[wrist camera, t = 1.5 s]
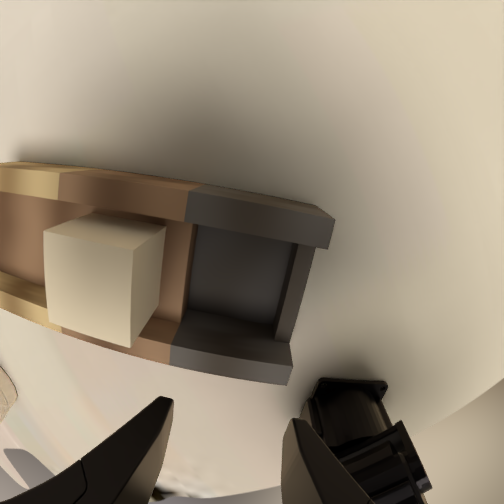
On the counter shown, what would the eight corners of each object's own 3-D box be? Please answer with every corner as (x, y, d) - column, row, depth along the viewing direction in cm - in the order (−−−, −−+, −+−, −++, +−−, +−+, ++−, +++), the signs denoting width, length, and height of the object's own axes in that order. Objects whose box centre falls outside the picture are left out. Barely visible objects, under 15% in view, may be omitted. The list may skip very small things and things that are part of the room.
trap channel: (315, 205, 19) (335, 219, 14) (281, 341, 22) (286, 385, 17) (18, 161, 18) (-25, 165, 13) (18, 277, 21) (-18, 299, 16)
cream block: (166, 226, 17) (133, 250, 12) (158, 304, 18) (130, 348, 14) (91, 212, 17) (43, 230, 12) (89, 287, 18) (49, 321, 13)
